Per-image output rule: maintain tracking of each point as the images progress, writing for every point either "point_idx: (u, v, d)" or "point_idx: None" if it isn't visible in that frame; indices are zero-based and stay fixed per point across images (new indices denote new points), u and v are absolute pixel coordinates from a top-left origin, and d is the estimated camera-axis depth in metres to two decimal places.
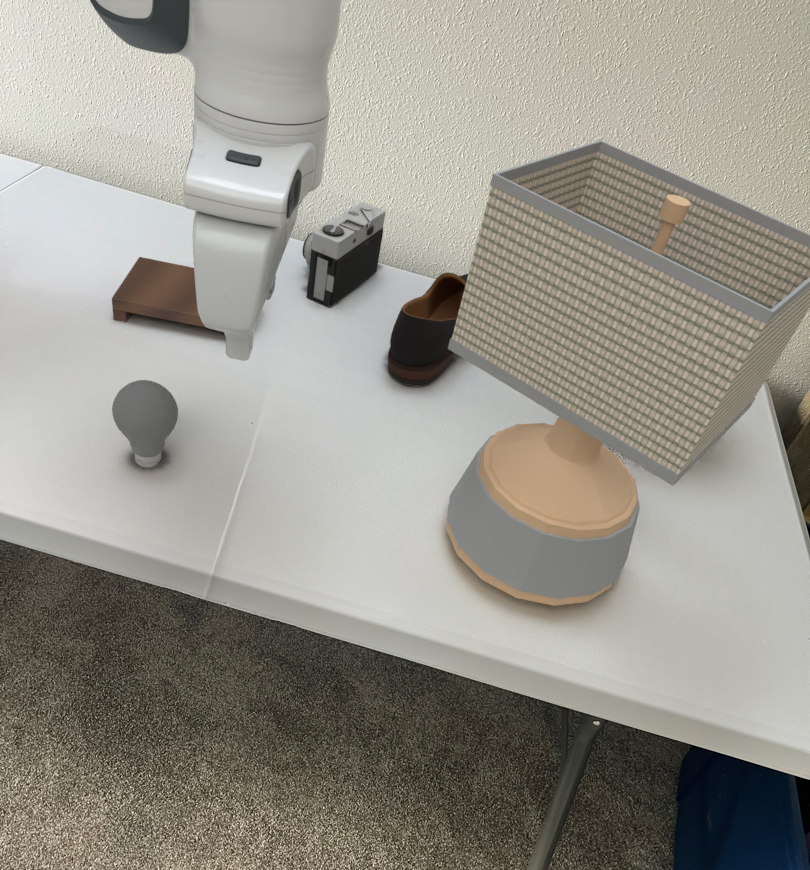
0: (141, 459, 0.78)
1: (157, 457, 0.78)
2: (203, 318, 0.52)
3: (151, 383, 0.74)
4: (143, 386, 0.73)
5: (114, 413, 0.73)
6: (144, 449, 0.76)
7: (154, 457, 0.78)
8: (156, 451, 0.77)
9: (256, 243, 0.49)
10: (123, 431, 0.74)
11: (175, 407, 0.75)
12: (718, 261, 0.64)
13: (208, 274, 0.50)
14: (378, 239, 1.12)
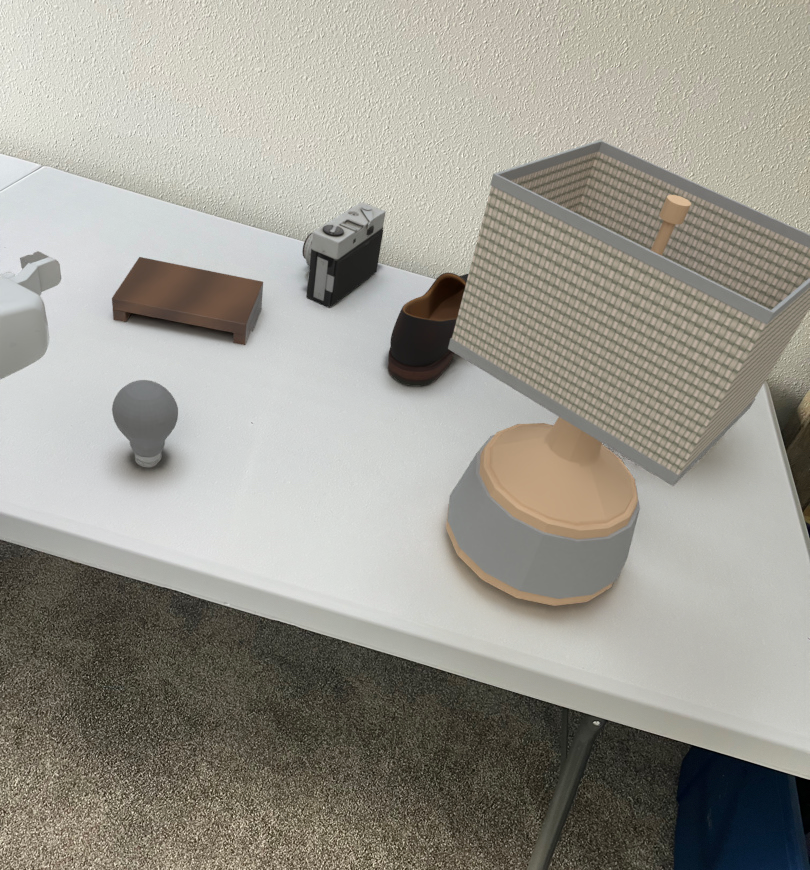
0: (141, 459, 0.78)
1: (157, 457, 0.78)
2: (43, 354, 0.47)
3: (151, 383, 0.74)
4: (143, 386, 0.73)
5: (114, 413, 0.73)
6: (144, 449, 0.76)
7: (154, 457, 0.78)
8: (156, 451, 0.77)
9: None
10: (123, 431, 0.74)
11: (175, 407, 0.75)
12: (719, 261, 0.64)
13: None
14: (378, 239, 1.12)
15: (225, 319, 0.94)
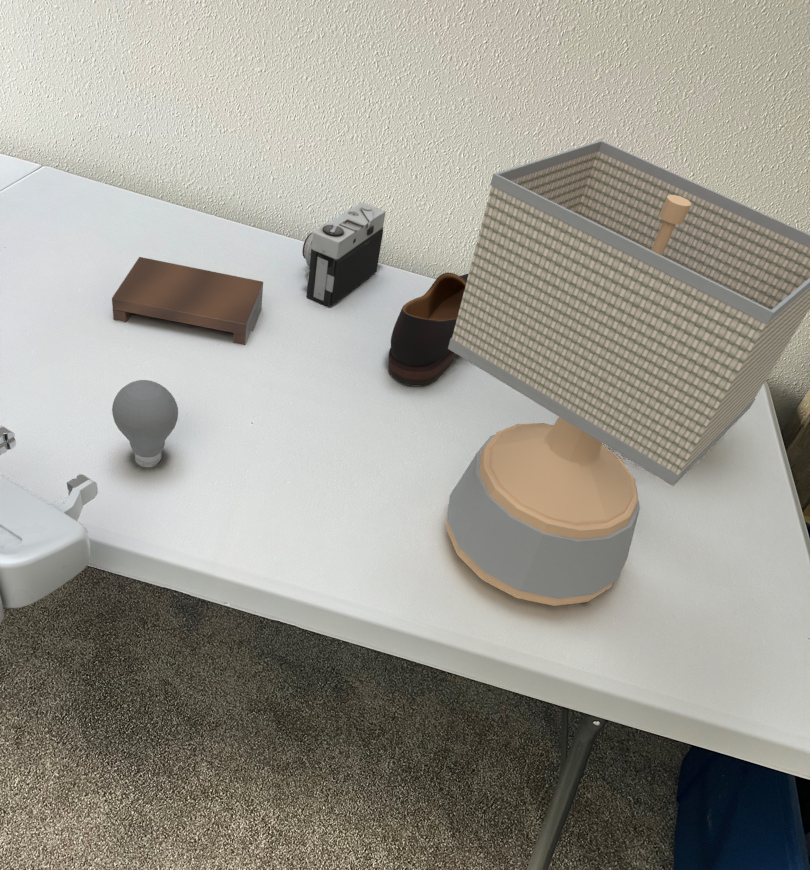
0: (141, 459, 0.78)
1: (157, 457, 0.78)
2: (86, 565, 0.61)
3: (151, 383, 0.74)
4: (143, 386, 0.73)
5: (114, 413, 0.73)
6: (144, 449, 0.76)
7: (154, 457, 0.78)
8: (156, 451, 0.77)
9: (12, 573, 0.56)
10: (123, 431, 0.74)
11: (175, 407, 0.75)
12: (719, 261, 0.64)
13: (52, 585, 0.59)
14: (378, 239, 1.12)
15: (225, 319, 0.94)
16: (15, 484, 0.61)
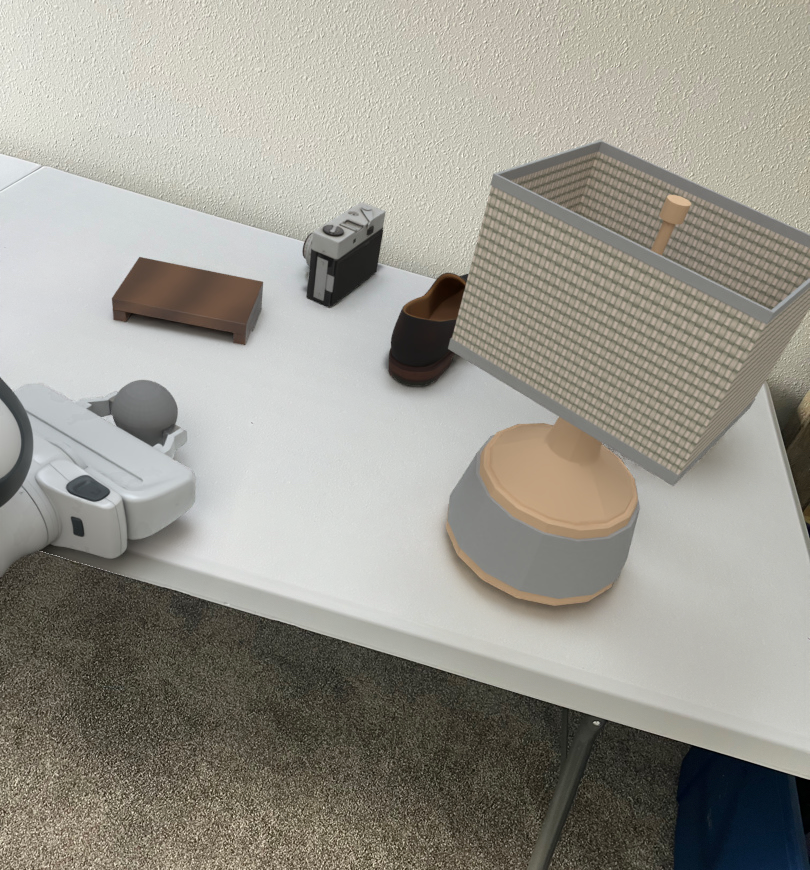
0: None
1: None
2: (192, 505, 0.71)
3: (151, 383, 0.74)
4: (142, 385, 0.73)
5: (114, 413, 0.73)
6: None
7: None
8: None
9: (138, 507, 0.65)
10: None
11: (175, 407, 0.75)
12: (719, 261, 0.64)
13: (166, 520, 0.69)
14: (378, 239, 1.12)
15: (225, 319, 0.94)
16: (130, 435, 0.71)
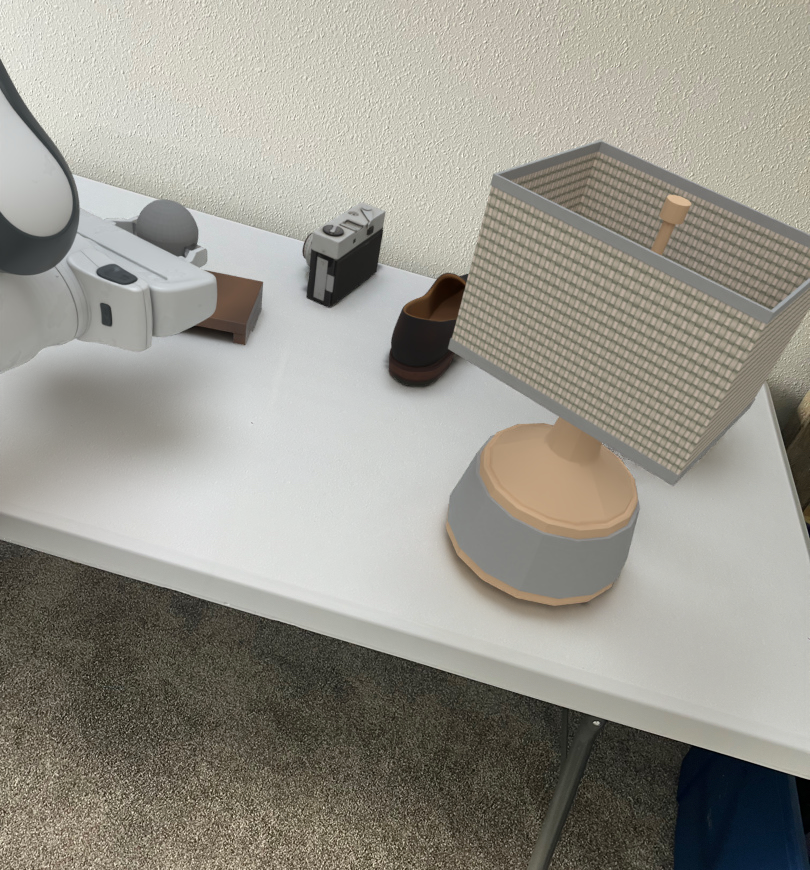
0: None
1: None
2: (213, 312, 0.74)
3: (173, 201, 0.77)
4: (165, 202, 0.76)
5: (138, 229, 0.76)
6: None
7: None
8: None
9: (164, 298, 0.69)
10: None
11: (196, 227, 0.78)
12: (719, 261, 0.64)
13: (189, 320, 0.72)
14: (378, 239, 1.12)
15: (225, 319, 0.94)
16: (154, 245, 0.74)
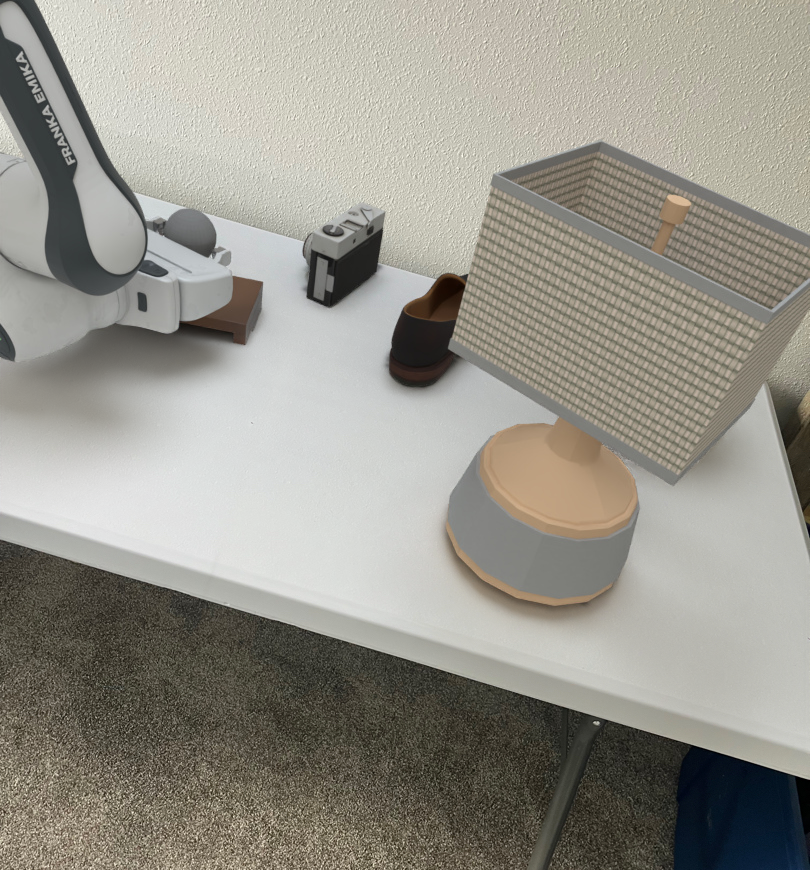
0: None
1: None
2: (229, 300, 0.88)
3: (195, 210, 0.91)
4: (189, 210, 0.90)
5: (166, 233, 0.90)
6: None
7: None
8: None
9: (189, 288, 0.83)
10: None
11: (214, 231, 0.92)
12: (719, 261, 0.64)
13: (210, 307, 0.86)
14: (378, 239, 1.12)
15: (225, 319, 0.94)
16: None
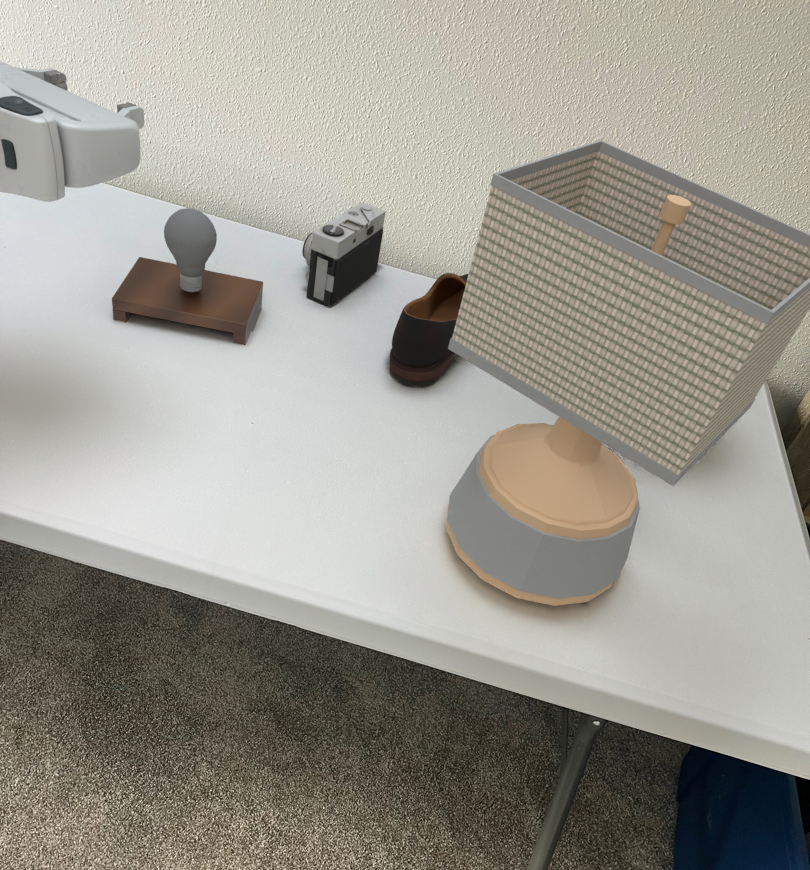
0: (185, 279, 0.95)
1: (198, 279, 0.95)
2: (136, 166, 0.67)
3: (196, 210, 0.91)
4: (189, 210, 0.90)
5: (166, 233, 0.90)
6: (189, 268, 0.93)
7: (196, 278, 0.95)
8: (198, 271, 0.94)
9: (74, 137, 0.61)
10: (173, 249, 0.91)
11: (214, 231, 0.92)
12: (719, 261, 0.64)
13: (107, 170, 0.65)
14: (378, 239, 1.12)
15: (225, 319, 0.94)
16: (72, 93, 0.67)
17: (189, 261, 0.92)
